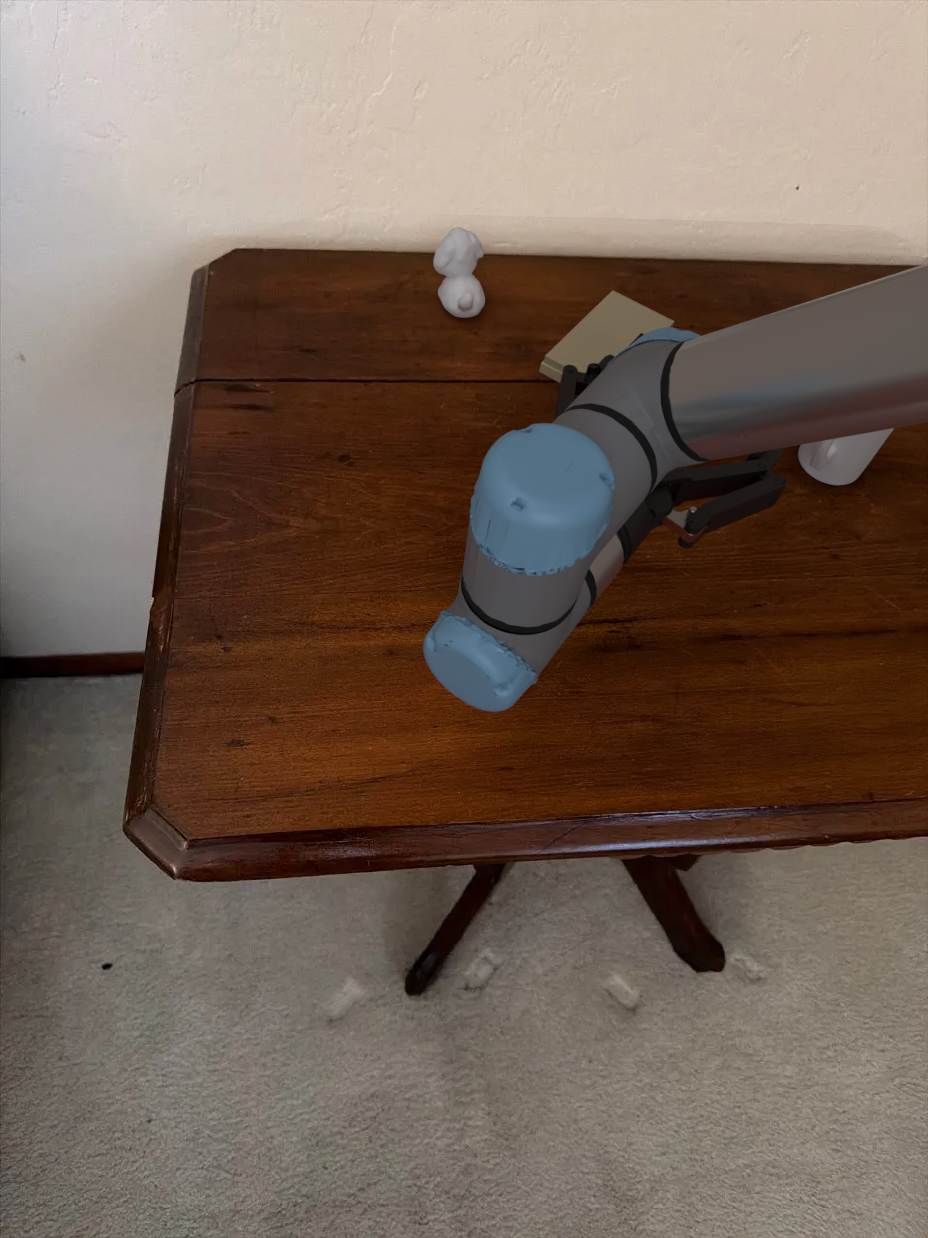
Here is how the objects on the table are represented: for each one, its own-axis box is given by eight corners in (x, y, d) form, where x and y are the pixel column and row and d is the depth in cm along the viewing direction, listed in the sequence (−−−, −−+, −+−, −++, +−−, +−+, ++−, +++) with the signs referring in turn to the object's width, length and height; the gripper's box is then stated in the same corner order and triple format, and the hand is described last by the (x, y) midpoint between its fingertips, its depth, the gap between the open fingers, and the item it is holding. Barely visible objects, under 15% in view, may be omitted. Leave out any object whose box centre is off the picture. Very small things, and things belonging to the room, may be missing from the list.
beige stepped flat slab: (671, 337, 94) (677, 320, 92) (606, 408, 87) (611, 392, 85) (607, 304, 96) (612, 288, 94) (538, 371, 89) (542, 355, 87)
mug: (817, 426, 88) (874, 328, 78) (875, 464, 86) (942, 368, 76) (762, 476, 84) (815, 379, 74) (822, 517, 82) (885, 423, 72)
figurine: (464, 278, 96) (471, 210, 90) (499, 322, 93) (509, 255, 86) (420, 289, 95) (424, 221, 88) (454, 335, 91) (461, 267, 84)
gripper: (442, 487, 71) (577, 352, 81) (716, 652, 64) (826, 482, 75) (448, 419, 65) (594, 282, 75) (753, 594, 58) (867, 418, 68)
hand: (710, 382), depth 75 cm, fingers open, 13 cm apart
